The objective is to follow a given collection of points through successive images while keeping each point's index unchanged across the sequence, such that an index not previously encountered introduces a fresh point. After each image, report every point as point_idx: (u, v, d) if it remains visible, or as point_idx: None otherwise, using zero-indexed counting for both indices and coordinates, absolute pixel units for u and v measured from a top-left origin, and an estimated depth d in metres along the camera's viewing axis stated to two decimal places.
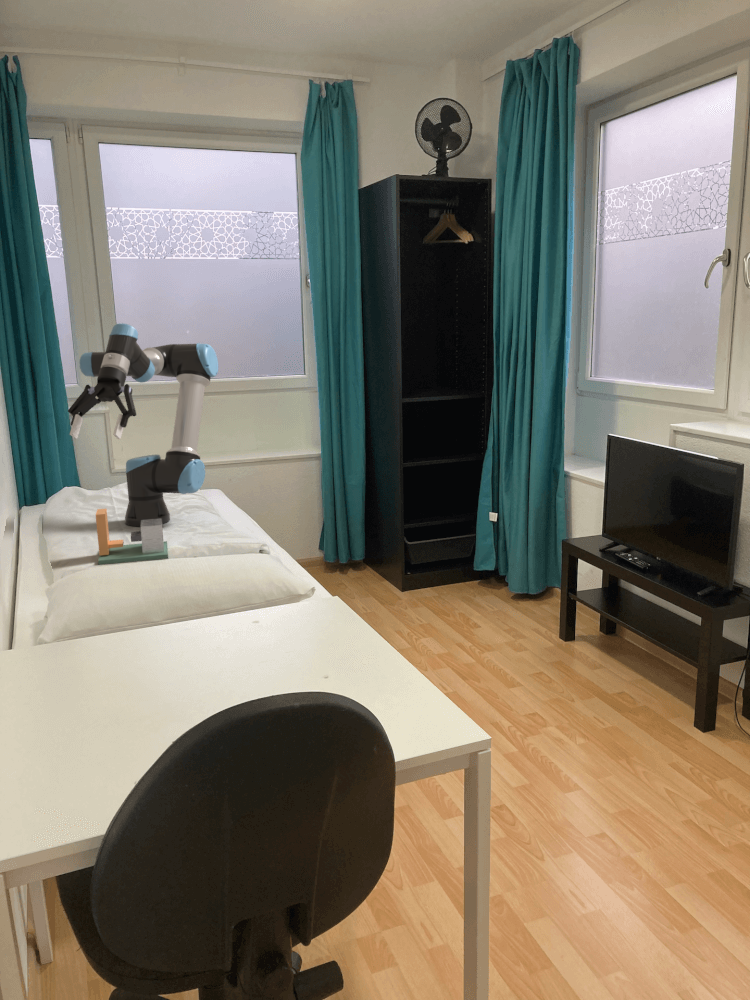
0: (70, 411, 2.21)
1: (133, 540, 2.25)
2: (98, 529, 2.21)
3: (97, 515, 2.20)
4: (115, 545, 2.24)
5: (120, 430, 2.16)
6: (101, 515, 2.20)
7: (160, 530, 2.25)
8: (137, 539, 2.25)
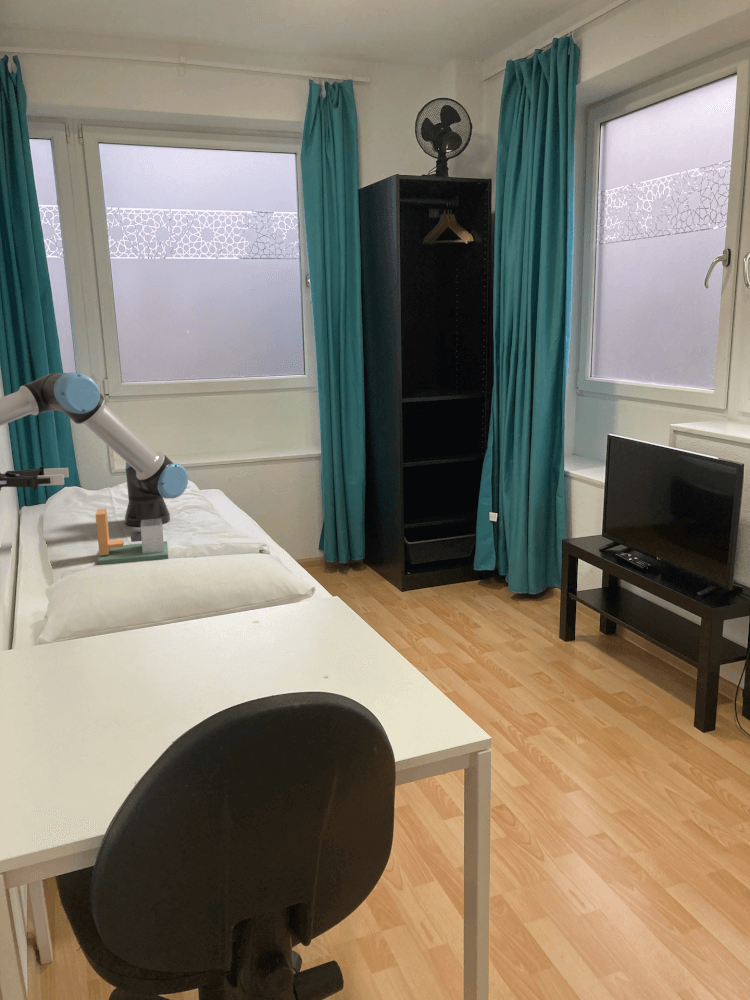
0: None
1: (133, 540, 2.25)
2: (98, 529, 2.21)
3: (97, 515, 2.20)
4: (115, 545, 2.24)
5: (55, 479, 2.12)
6: (101, 515, 2.20)
7: (160, 530, 2.25)
8: (137, 539, 2.25)
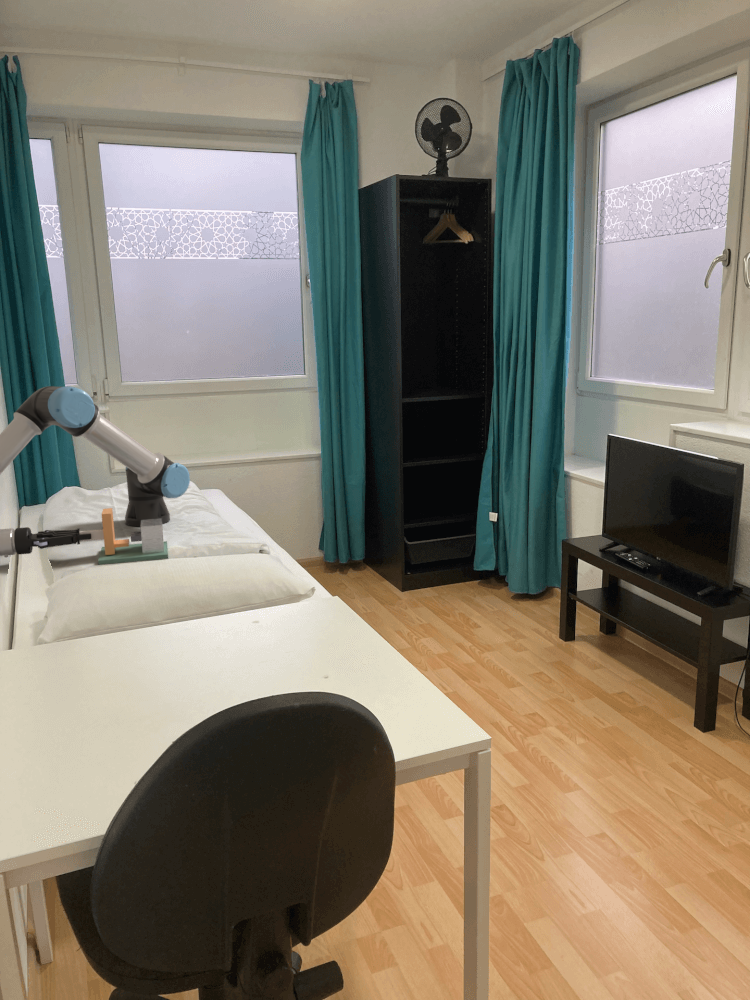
0: None
1: (133, 540, 2.25)
2: (104, 529, 2.21)
3: (103, 515, 2.21)
4: (121, 545, 2.25)
5: (95, 534, 2.24)
6: (107, 515, 2.21)
7: (160, 530, 2.25)
8: (137, 539, 2.25)
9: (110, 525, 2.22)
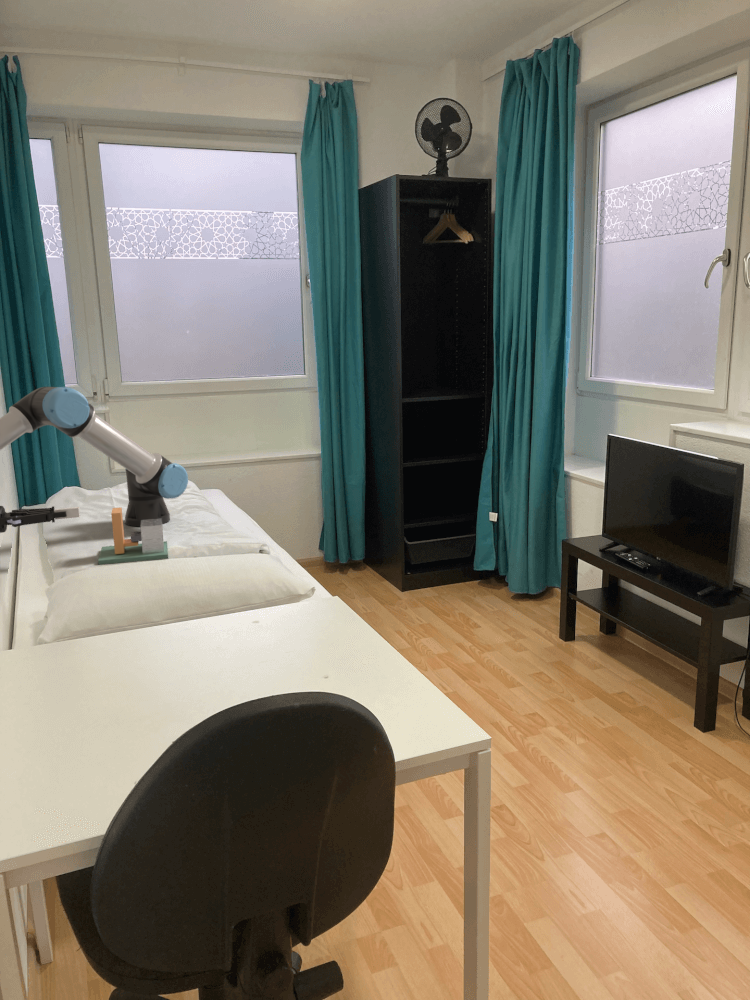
0: None
1: (133, 540, 2.25)
2: (114, 528, 2.22)
3: (113, 514, 2.21)
4: (130, 544, 2.26)
5: (70, 512, 2.21)
6: (117, 514, 2.21)
7: (160, 530, 2.25)
8: (137, 539, 2.25)
9: (120, 524, 2.22)
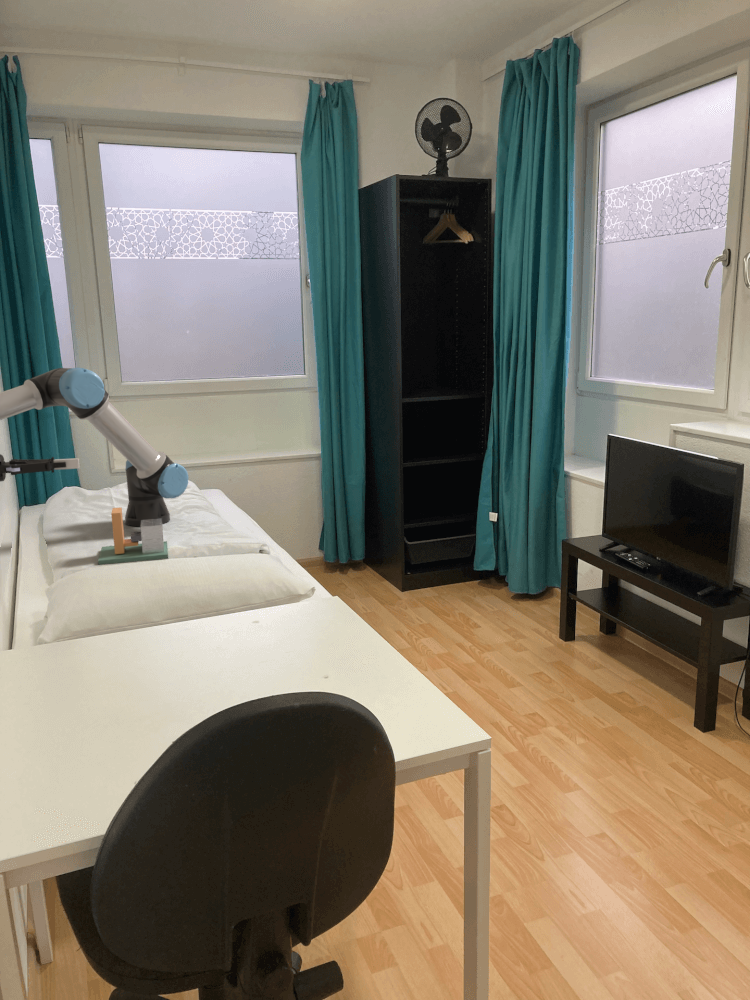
0: None
1: (133, 540, 2.25)
2: (114, 528, 2.22)
3: (113, 514, 2.21)
4: (130, 544, 2.26)
5: (70, 463, 2.19)
6: (117, 514, 2.21)
7: (160, 530, 2.25)
8: (137, 539, 2.25)
9: (120, 524, 2.22)
